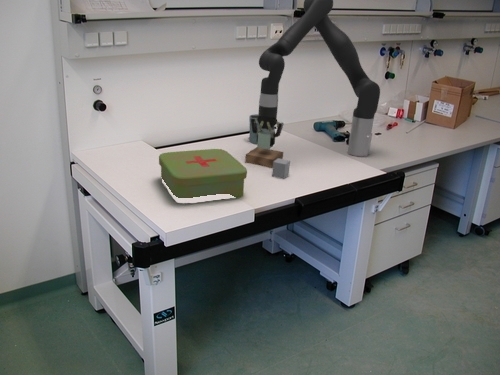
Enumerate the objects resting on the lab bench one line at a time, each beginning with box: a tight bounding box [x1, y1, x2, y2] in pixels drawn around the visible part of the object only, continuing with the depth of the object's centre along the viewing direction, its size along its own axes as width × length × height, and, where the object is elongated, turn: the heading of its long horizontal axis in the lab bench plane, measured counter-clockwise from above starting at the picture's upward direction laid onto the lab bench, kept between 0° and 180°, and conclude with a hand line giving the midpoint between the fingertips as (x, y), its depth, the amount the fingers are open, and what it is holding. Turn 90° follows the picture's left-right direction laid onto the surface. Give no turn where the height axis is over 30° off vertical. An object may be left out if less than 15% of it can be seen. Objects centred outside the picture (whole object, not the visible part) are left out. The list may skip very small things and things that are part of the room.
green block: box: [256, 131, 274, 149], centre depth 202 cm, size 5×5×6 cm
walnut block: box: [245, 147, 284, 169], centre depth 205 cm, size 12×12×4 cm
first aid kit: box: [158, 148, 248, 199], centre depth 173 cm, size 26×26×10 cm
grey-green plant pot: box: [248, 113, 269, 145], centre depth 228 cm, size 10×10×12 cm
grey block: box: [271, 158, 291, 180], centre depth 190 cm, size 5×5×6 cm
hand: (265, 144), depth 203 cm, fingers closed on green block, 5 cm apart
